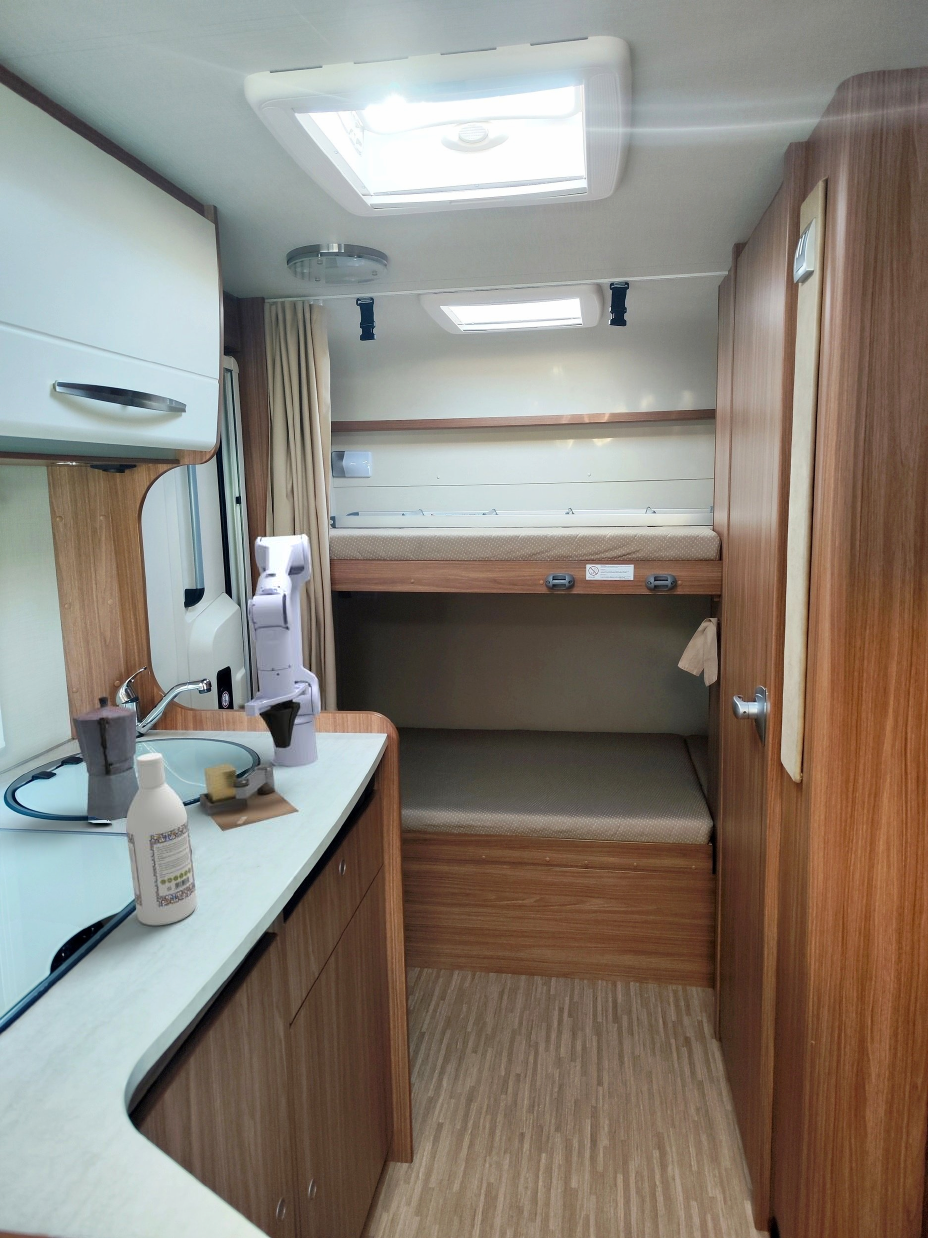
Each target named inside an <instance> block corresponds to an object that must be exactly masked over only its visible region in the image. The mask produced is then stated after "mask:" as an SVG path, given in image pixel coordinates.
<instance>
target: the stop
mask: <svg viewBox="0 0 928 1238" xmlns="http://www.w3.org/2000/svg"><path fill="white" fill-rule="evenodd" d="M236 772H237V770H236V769H235V767H233V766H232V765H231V764H230V763H225V764H221V765H215V766H212V767H206V768H204V776H205V787H206V788H205V789H206V793H207V797H208V801H209V802H210V803H211V804H215V803H219V802H224V801H228V800H232V799H236V793H235V787H234V785H233V781H234V780H236V779H237V773H236Z"/></svg>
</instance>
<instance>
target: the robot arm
mask: <svg viewBox="0 0 928 1238" xmlns="http://www.w3.org/2000/svg"><path fill="white" fill-rule="evenodd" d="M254 555H255V562H256V565H257V568H258V571H259V574H260V576H259V577H258V579H257V584H256V590H255V593H254V594H255V595H254V596H253V597H252V599H248V602H247V616H248V617H247V618H248V622H249V627H250V631H251V639H252V642H253V643H254V646H255V647H254V648H255V654H256V655H255V656H256V667H257V668H256V669H257V677H258V686H259V691H258V692H255V697H254V698H253V699H252V700H250V701H248V702H247V703H244V711H245V712H244V713H245V716H246V717H259V716H260V717H261V719H262V721H263V722H264V723H265V725H266V726H267V728H268V731H269V732H270V735H271V736H270V737H271V738H272V743H273V744H272V745H273V753H274V758H271V759H270V760H269V761H270V763H271V765H272V766H275V767H276V766H282V767H287V768H292V767H293V768H294V767H295V768H296V767H301V766H306V765H310V764H313V763H315V762H316V761H317V760H318V759H319V758H318V747H317V738H316V737H317V735H316V726H315V725H316V723H315V718H316V717H318V716H319V715H320V714H321V710H322V709H321V705H322V704H321V692H320V691H321V690H320V687H319V679H318V678H317V676H316V675H315V674H314V673H313V672H312V671H310V670H308V669H307V668H305V667H304V657H303V656H304V655H303V654H304V653H303V637H302V635H303V634H302V617H301V616H302V615H301V593H302V592H301V591H302V587H303V584H304V583H306V582H308V581H309V580H310V579H311V574H312V567H311V565H312V564H311V560H312V559H311V546H310V539H309V536H307V535H306V534H304V533H303V534H302V533H301V534H297V535H282V536H280V535H279V536H278V535H277V536H267V537H266V536H264V537H262V536H257V538H256V539H255V541H254Z"/></svg>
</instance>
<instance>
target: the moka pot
mask: <svg viewBox="0 0 928 1238" xmlns="http://www.w3.org/2000/svg"><path fill="white" fill-rule="evenodd" d="M98 703H99V707H96V708H93V709H90V710H88V711H87V710H86V711H84V712H82V713H80V714H77V715H75V716H73V717H72V724H73V727H74V730H75V735H76V738H77V741H78V745H79V746H78V747H79V750H80V755H81V758H82V761H83V762H84V763H85V767H86V773H87V774H88V776H87V777H88V778H87V802H86V805H87V807H86V808H87V809H86V817H87V816H91V817H95V818H98V819H102V820H103V819H104V820H107V821H108V820H109V821H111V822H112V821H118V820H120V819H125V818H127V814H128V811H129V808H130V805H131V803H132V801H133V799H134V797H135V795H136V793H137V792H138V790H139V788H140V785H139V780H138V778H137V775H136V771H135V767H134V766H135V758H134V756H135V755H136V753H137V752H136V751H137V748H136V747H137V715H138V714H137V712H138V711H137V710H136V709H135V708H134V709H133V708H131V707H127V706H126V707H125V706H114V705H113V706H110V705H109V697H107V696H101V697H98Z"/></svg>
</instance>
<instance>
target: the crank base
mask: <svg viewBox="0 0 928 1238" xmlns="http://www.w3.org/2000/svg"><path fill="white" fill-rule="evenodd" d="M199 803H200V806H201V807H202V808H203V809H204V810H205V811H206V813H207V814H208V815H209V817H211V819H212V820H213V821H214V822H215V823H216V825H217V826H218V828H220V829H221V831H223V832H225V831H229V830H232V829H236V828H240V827H243V826H247V825H252V824H256V823H260V822H263V821H268V820H270V819H274V818H278V817H281V816H286V815H290V814H294V813H298V812H299V809H298V808H296V807H295V806H294V805H293V804H292V803H290V802H289V801H288V800H287V799H285V798H284V797H283V796H282V795H281V794H280V793H278V791H276V790H275V791H274V792H273V793H271V794H266V795H259V794H257V790H256V791H255V792H254V793H252V794H251V795H250V796H249V797H248V798H236V799H232V800H228V801H224V802H219V803H215V804H211V803H210V802H209V801H208V797H207V792H205V793H200V794H199Z"/></svg>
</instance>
